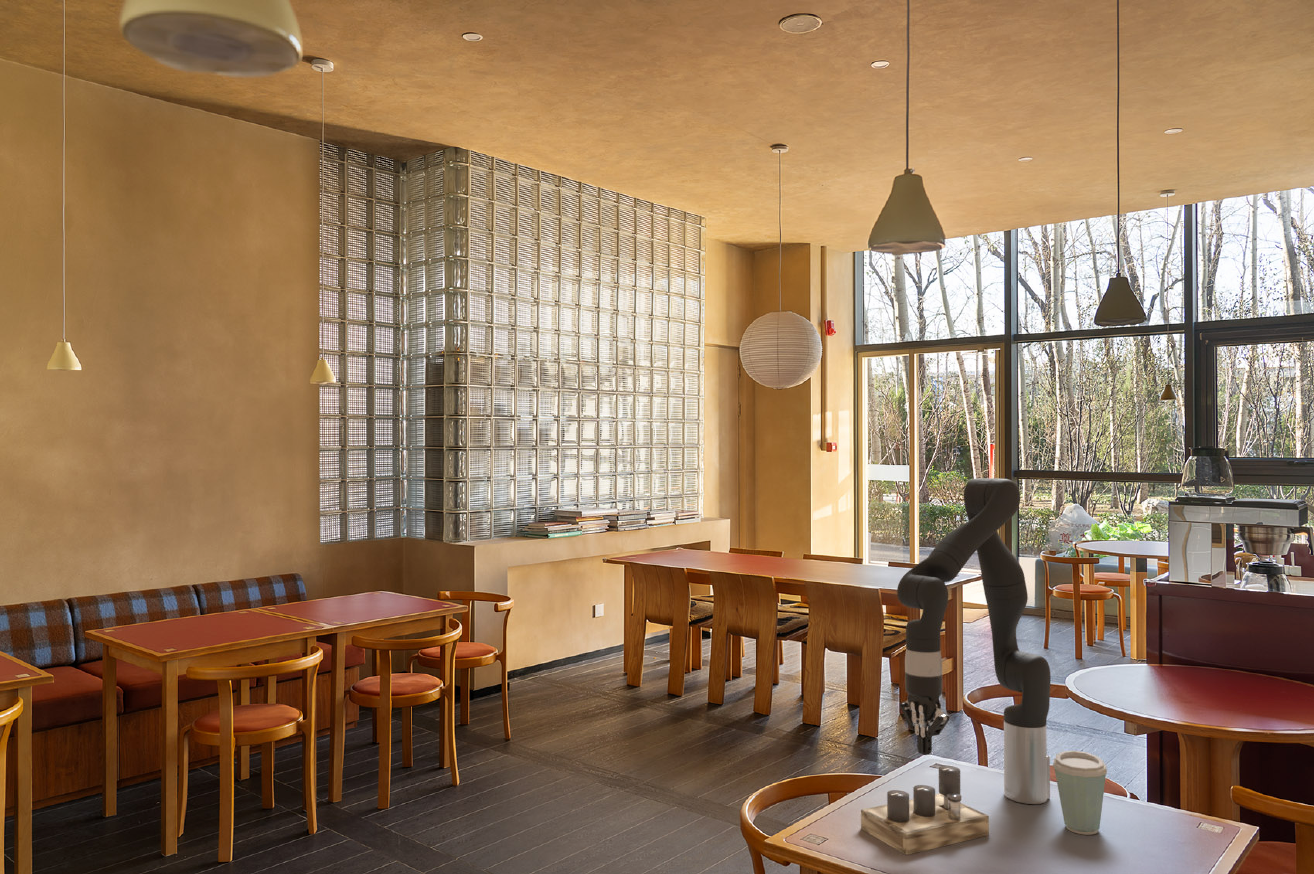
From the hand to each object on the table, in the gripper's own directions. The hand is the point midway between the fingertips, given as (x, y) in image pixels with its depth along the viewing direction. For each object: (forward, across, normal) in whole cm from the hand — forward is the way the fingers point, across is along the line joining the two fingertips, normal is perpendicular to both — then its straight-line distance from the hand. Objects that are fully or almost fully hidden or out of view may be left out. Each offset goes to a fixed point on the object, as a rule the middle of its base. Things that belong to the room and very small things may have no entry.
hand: (924, 753), depth 190 cm
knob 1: (+15, 0, +7) cm, 17 cm away
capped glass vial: (+12, -5, -3) cm, 14 cm away
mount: (+16, 0, 0) cm, 16 cm away
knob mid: (+15, 0, 0) cm, 15 cm away
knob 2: (+12, 0, -7) cm, 14 cm away
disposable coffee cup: (+17, -13, -31) cm, 37 cm away
